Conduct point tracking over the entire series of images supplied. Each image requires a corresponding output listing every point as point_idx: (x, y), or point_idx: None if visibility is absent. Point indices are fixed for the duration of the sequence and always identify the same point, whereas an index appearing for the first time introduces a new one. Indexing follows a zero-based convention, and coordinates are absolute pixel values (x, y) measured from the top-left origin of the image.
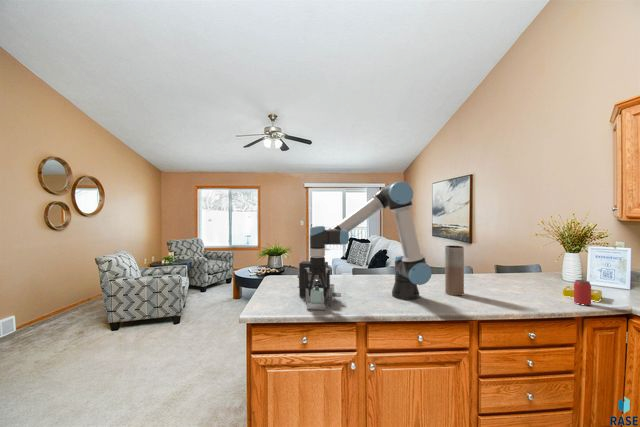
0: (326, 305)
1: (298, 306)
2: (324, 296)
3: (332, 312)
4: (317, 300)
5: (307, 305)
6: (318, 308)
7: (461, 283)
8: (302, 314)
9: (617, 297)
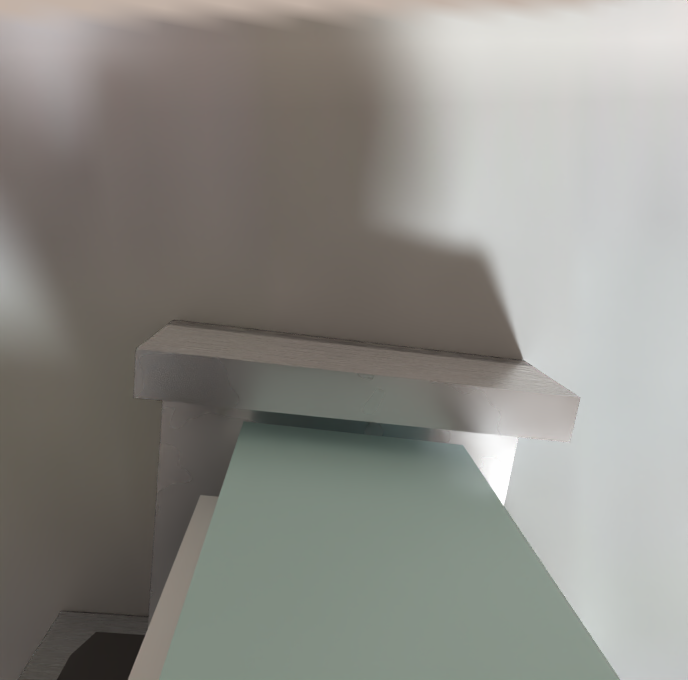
0: (159, 556)
1: (670, 521)
2: (125, 639)
3: (7, 227)
4: (333, 479)
5: (546, 381)
6: (302, 343)
7: None
8: (604, 86)
9: None
